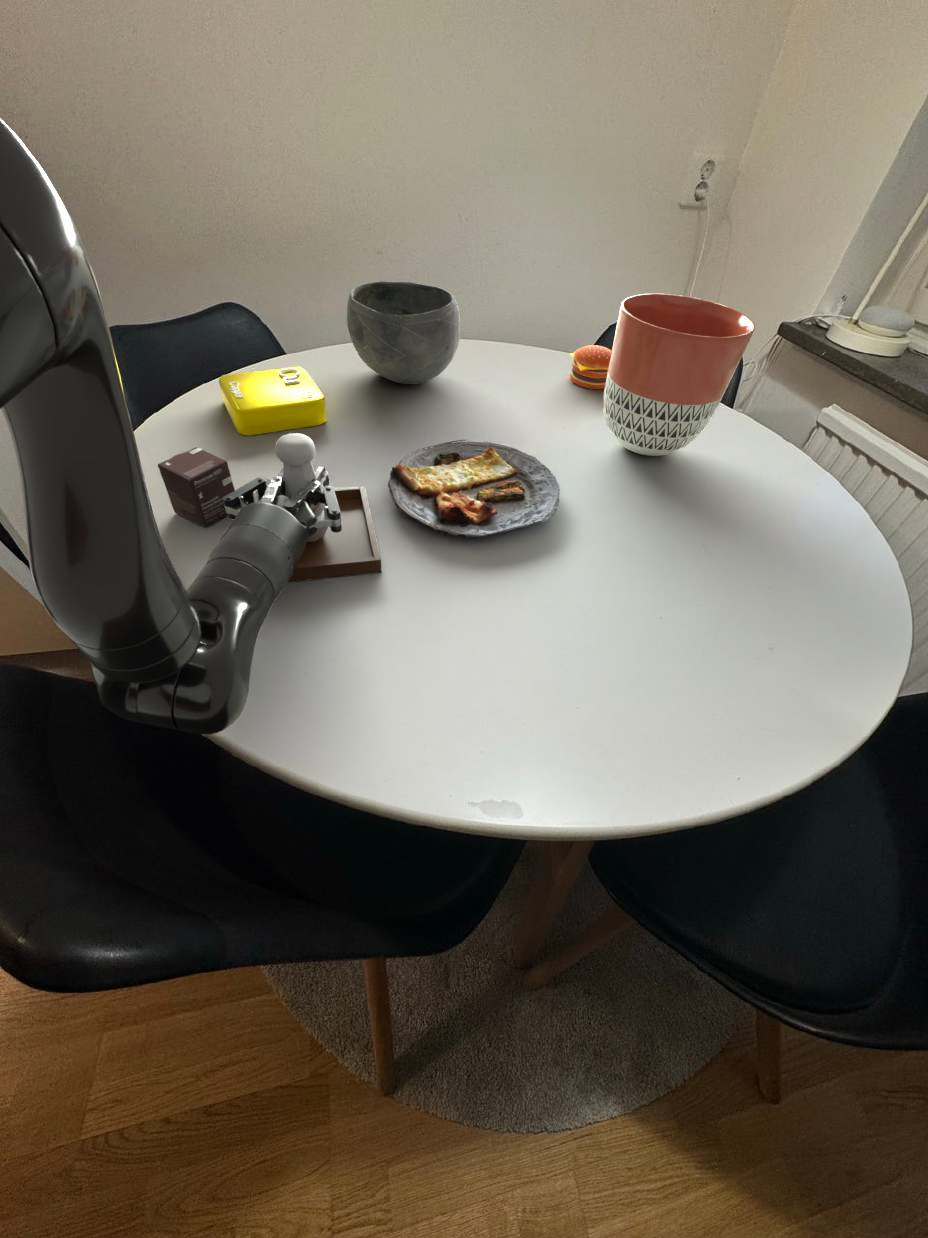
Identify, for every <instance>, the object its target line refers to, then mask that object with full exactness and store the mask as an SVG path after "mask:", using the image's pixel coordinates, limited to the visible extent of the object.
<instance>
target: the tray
mask: <svg viewBox="0 0 928 1238" xmlns="http://www.w3.org/2000/svg"><path fill="white" fill-rule="evenodd" d="M333 488H334V491H335V495H336V498H337V502H338V505H339V509H340V516H341V525H342V530H341V531H340V532H332V531H331V528H330V527H328V528H327V530H326V533H325V535H324V536H322V537H321V538H319V539H318V540H316V541H315V542H307V543H306V546H305V549H304V551H303V553H302V555H301V557H300V559H299V561H298V562H297V564H296V566H295V568H294V570H293V573H292V576H291V577H290V579H289V580H288V582H287V583H295V582H305V581H313V580H322V579H333V578H341V577H353V576H363V575H371V574H372V575H373V574H381V573H382V559H381V553H380V549H379V544H378V539H377V536H376V530H375V526H374V521H373V517H372V513H371V512H372V511H371V508H370V503H369V499H368V494H367V490H366V485H356V486H343V487H341V486H340V487H333ZM257 494H258V492H253V496H255V495H257Z"/></svg>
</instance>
